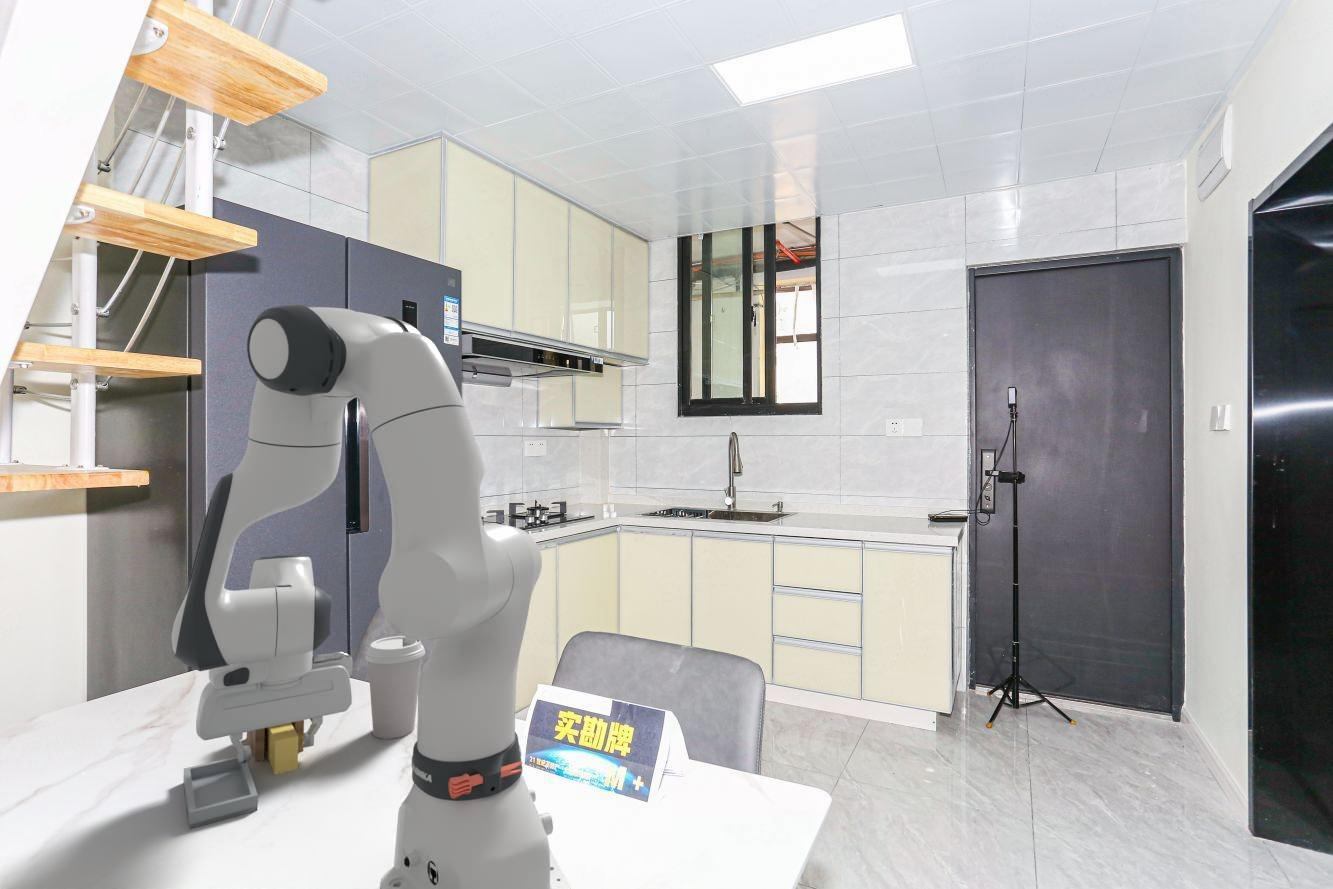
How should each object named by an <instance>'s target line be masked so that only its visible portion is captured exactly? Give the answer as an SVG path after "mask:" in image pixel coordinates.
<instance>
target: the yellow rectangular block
mask: <svg viewBox="0 0 1333 889" xmlns="http://www.w3.org/2000/svg"><path fill="white" fill-rule="evenodd" d="M264 753H265V754H266V757H267V759H268V761H269V764H270V766H272V767H271V769H272V771H273V774H274V775H278V774H281V772H282V773H286V772H291V771H294V770H297V769H298V768H299V752H298V735H297V733H296V731H295V729H294V727H293V725H292V724H291V723H287V724H282V725H277V726H273V727H268V728H265V737H264Z"/></svg>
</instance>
